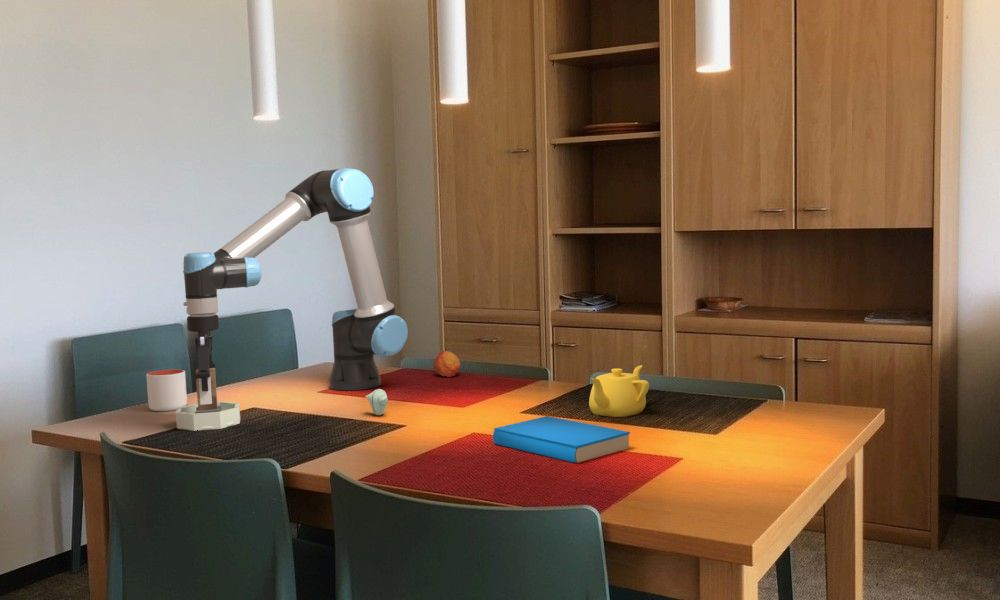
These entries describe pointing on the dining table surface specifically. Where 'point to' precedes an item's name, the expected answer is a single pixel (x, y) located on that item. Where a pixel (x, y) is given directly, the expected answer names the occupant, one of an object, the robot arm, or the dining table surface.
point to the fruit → (447, 364)
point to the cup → (166, 390)
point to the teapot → (618, 393)
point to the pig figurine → (378, 401)
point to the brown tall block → (213, 392)
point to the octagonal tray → (208, 416)
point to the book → (562, 438)
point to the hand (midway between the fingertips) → (207, 399)
